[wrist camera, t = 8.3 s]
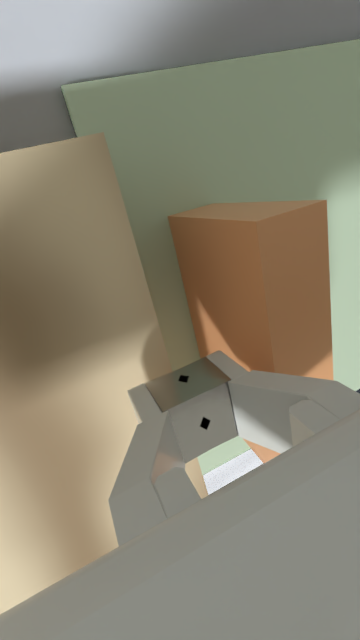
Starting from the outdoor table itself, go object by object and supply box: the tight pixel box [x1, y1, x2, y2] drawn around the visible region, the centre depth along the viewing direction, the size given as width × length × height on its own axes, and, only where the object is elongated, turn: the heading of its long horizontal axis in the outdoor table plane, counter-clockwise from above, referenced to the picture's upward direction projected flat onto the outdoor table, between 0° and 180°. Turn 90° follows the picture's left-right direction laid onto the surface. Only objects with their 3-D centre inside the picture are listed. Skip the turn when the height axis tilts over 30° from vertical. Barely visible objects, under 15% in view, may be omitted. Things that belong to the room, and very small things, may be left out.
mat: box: [61, 39, 360, 475], centre depth 16 cm, size 20×18×1 cm
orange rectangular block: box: [168, 200, 334, 463], centre depth 12 cm, size 6×9×2 cm
